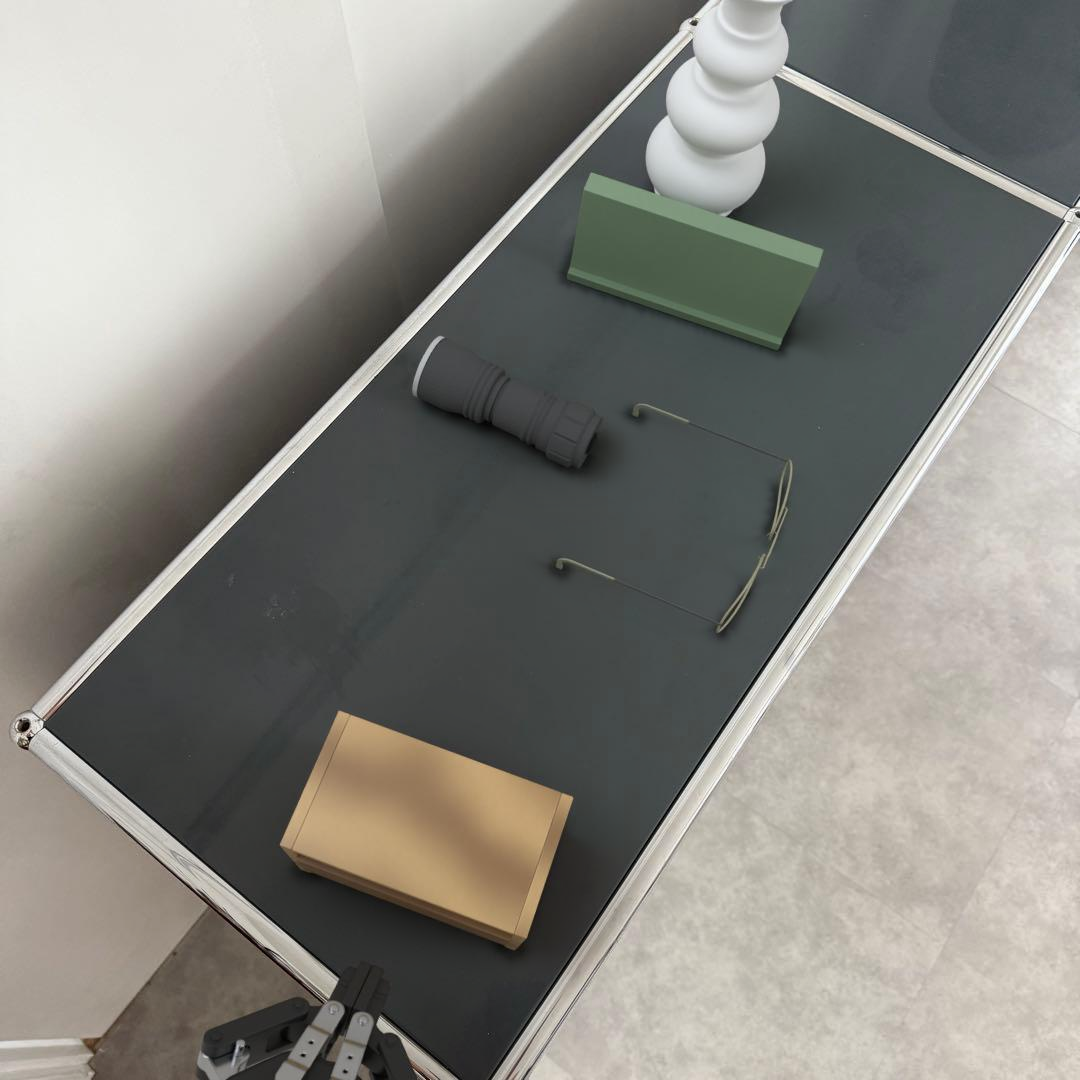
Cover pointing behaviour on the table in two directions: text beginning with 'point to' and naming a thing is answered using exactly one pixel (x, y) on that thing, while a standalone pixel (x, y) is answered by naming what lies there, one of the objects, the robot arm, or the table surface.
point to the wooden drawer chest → (427, 830)
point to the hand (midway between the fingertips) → (369, 975)
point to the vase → (721, 108)
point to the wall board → (690, 261)
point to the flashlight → (505, 402)
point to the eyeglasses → (635, 413)
